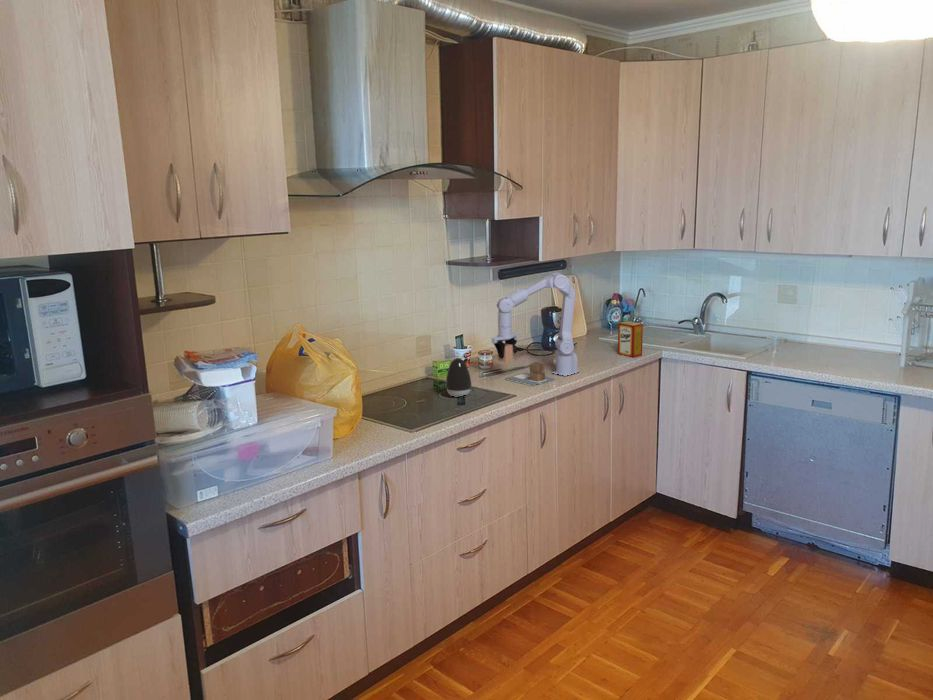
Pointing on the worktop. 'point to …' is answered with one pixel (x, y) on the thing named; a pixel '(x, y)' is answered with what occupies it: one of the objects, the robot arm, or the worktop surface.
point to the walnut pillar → (537, 371)
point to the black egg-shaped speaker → (458, 378)
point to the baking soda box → (630, 339)
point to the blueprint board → (527, 379)
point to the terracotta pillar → (507, 353)
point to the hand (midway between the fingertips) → (505, 356)
